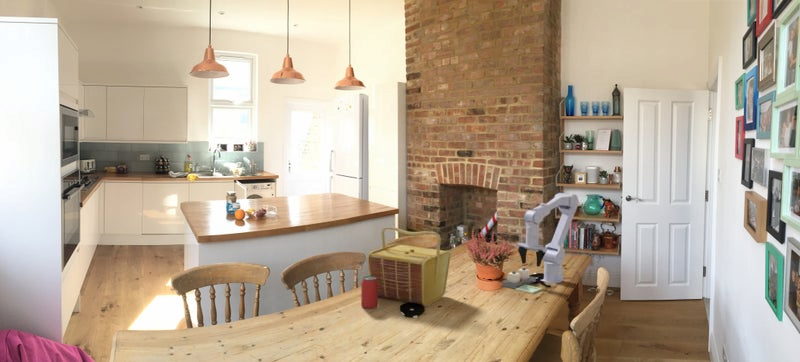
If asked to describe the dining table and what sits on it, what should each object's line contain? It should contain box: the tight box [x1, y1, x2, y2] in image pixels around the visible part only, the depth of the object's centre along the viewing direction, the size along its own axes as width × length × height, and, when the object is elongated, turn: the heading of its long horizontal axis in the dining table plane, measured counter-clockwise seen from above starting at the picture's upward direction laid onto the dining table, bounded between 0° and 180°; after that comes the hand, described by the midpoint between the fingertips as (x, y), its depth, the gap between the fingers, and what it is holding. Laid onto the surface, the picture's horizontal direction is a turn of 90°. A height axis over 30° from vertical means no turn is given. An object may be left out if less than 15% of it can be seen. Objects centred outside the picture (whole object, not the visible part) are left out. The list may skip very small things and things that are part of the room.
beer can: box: [360, 275, 378, 310], centre depth 214 cm, size 7×7×12 cm
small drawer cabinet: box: [501, 275, 537, 290], centre depth 248 cm, size 18×8×3 cm, turn 137°
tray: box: [515, 284, 543, 295], centre depth 239 cm, size 8×8×1 cm
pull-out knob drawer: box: [517, 267, 531, 280], centre depth 251 cm, size 4×4×7 cm
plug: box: [507, 270, 520, 284], centre depth 245 cm, size 4×4×7 cm
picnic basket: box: [367, 226, 451, 307], centre depth 226 cm, size 29×26×30 cm
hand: (531, 264), depth 245 cm, fingers open, 7 cm apart
